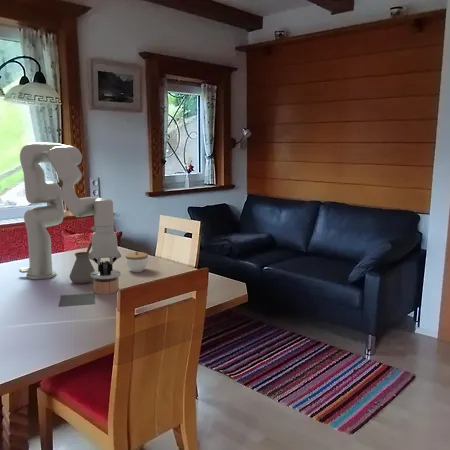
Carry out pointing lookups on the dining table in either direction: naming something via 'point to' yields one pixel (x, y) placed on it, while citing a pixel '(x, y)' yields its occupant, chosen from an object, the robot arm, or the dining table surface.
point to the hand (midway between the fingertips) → (105, 272)
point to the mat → (77, 299)
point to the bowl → (105, 285)
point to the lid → (105, 272)
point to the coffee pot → (82, 268)
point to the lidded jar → (136, 261)
